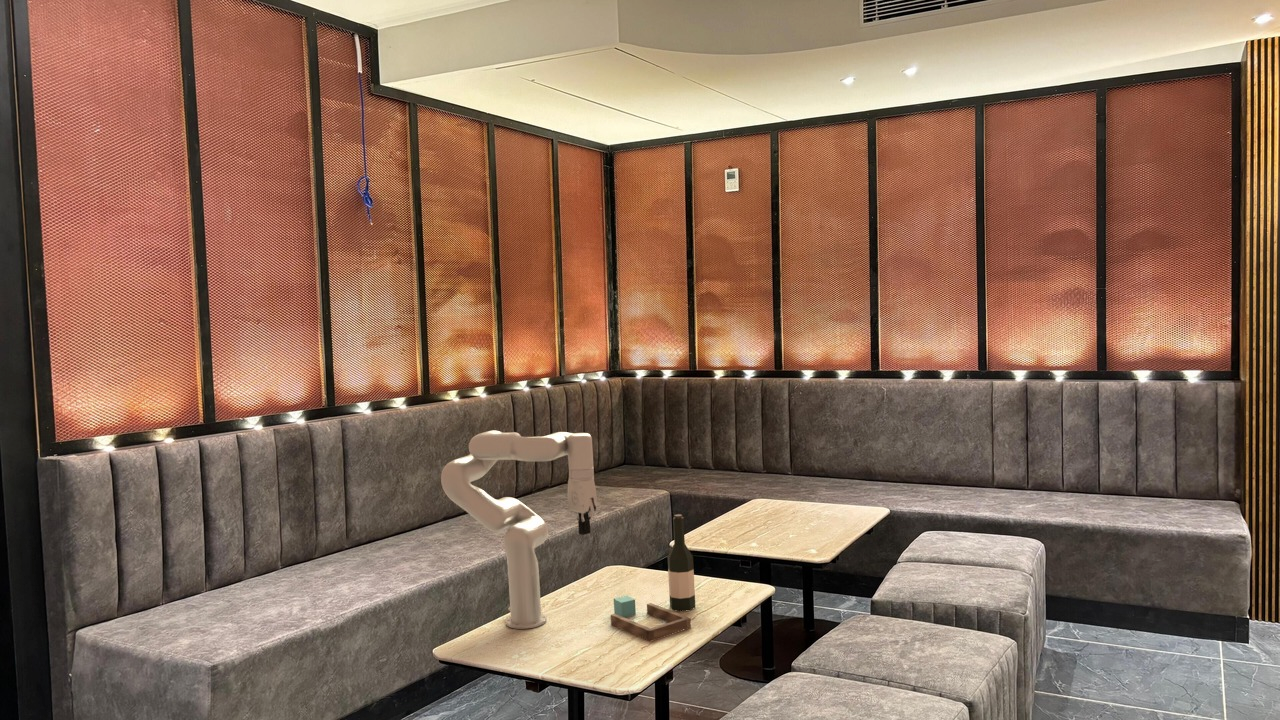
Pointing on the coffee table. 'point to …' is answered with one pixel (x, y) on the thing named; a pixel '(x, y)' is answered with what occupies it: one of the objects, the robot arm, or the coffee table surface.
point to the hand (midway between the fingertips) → (584, 533)
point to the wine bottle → (680, 570)
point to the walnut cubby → (675, 625)
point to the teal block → (624, 606)
